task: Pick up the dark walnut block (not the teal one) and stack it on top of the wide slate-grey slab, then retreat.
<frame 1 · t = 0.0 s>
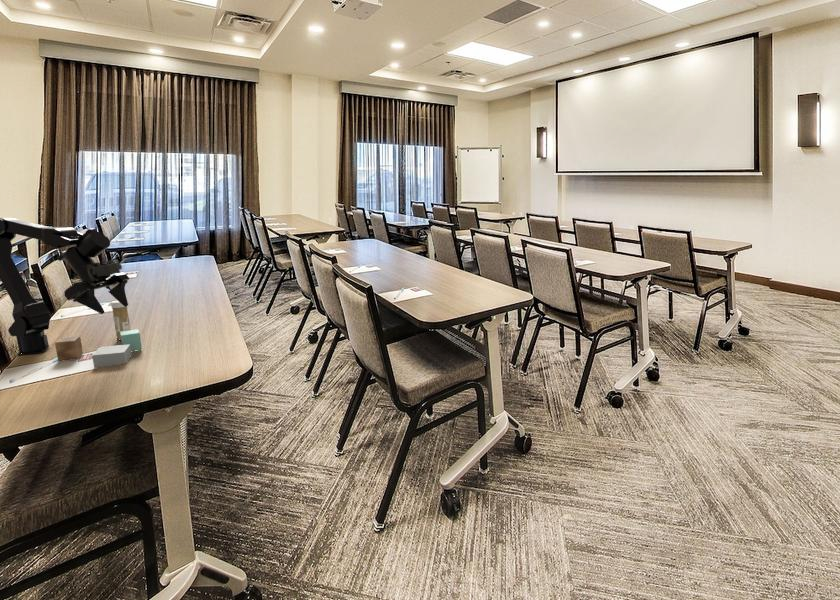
hand: (115, 309, 141), 15 cm above the table, tool tilted 35°, fingers open, 9 cm apart
teal block: (132, 350, 151), on the table
sprinkles bottle: (124, 339, 162), on the table
grey slab: (113, 362, 141), on the table
walnut block: (70, 358, 144), on the table
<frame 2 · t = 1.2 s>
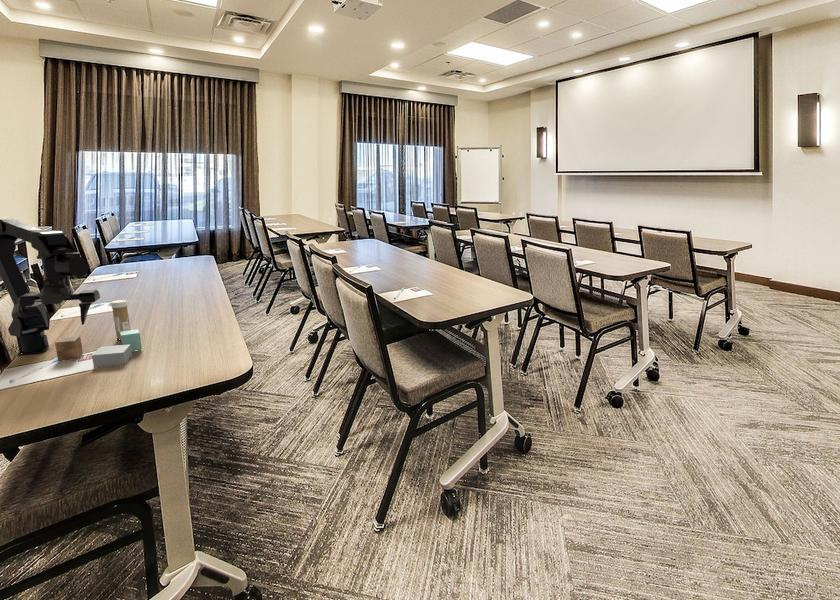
hand: (65, 325, 141), 10 cm above the table, tool pointing down, fingers open, 9 cm apart
nothing on the table moved.
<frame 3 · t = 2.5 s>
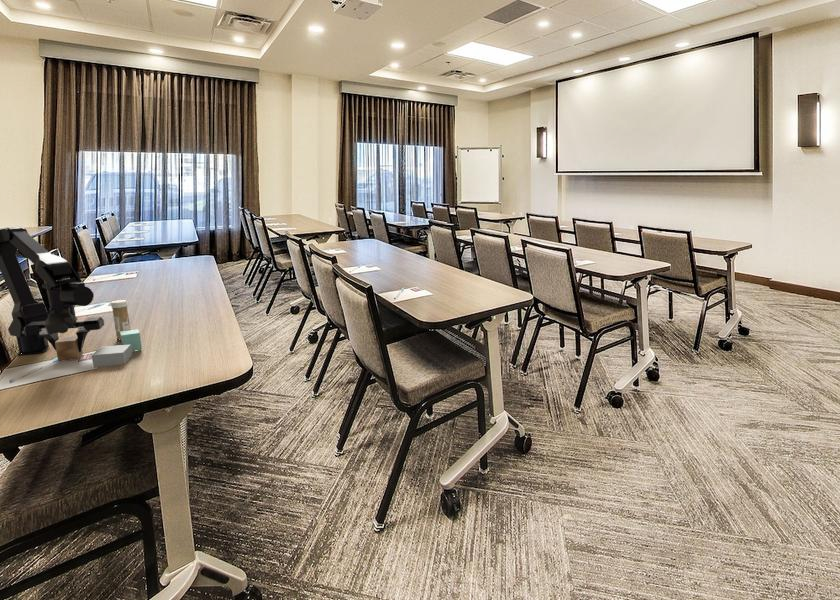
hand: (70, 352, 143), 2 cm above the table, tool pointing down, fingers closed on walnut block, 5 cm apart
walnut block: (70, 357, 144), on the table, touching gripper
everything else where it was.
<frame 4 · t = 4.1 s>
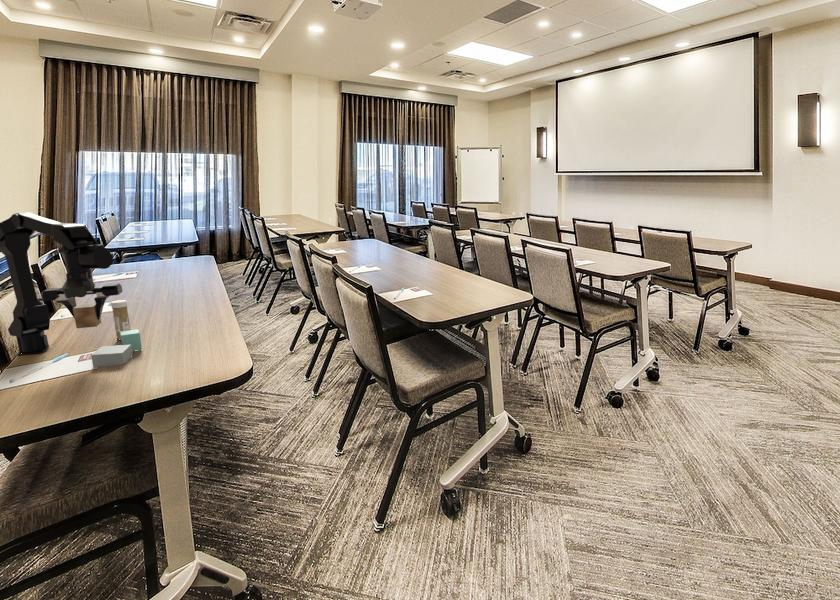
hand: (88, 320, 139), 12 cm above the table, tool pointing down, fingers closed on walnut block, 5 cm apart
walnut block: (89, 325, 139), point 11 cm above the table, touching gripper
everything else where it was.
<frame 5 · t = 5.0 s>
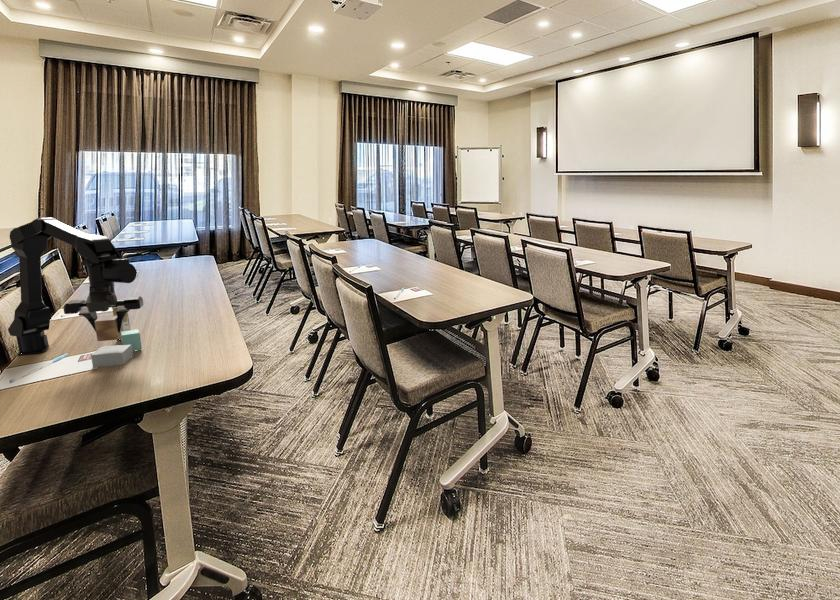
hand: (109, 333, 139), 9 cm above the table, tool pointing down, fingers closed on walnut block, 5 cm apart
walnut block: (109, 337, 139), point 7 cm above the table, touching gripper
everything else where it was.
when the fingers open (7 cm above the table, at t = 5.7 s): walnut block drops 2 cm, resting on grey slab.
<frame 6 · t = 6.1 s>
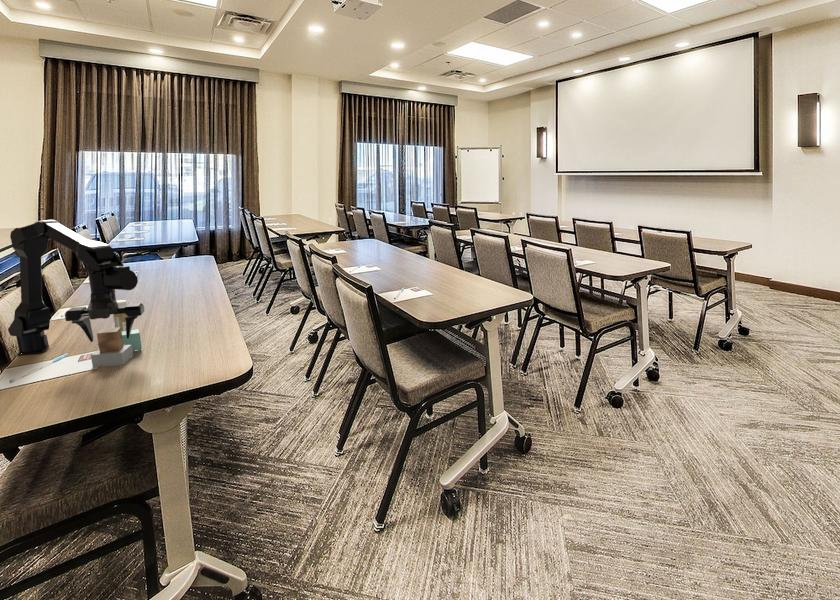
hand: (110, 339, 139), 7 cm above the table, tool pointing down, fingers open, 9 cm apart
grey slab: (113, 362, 141), on the table, touching walnut block
walnut block: (112, 349, 140), point 4 cm above the table, touching grey slab
everything else where it was.
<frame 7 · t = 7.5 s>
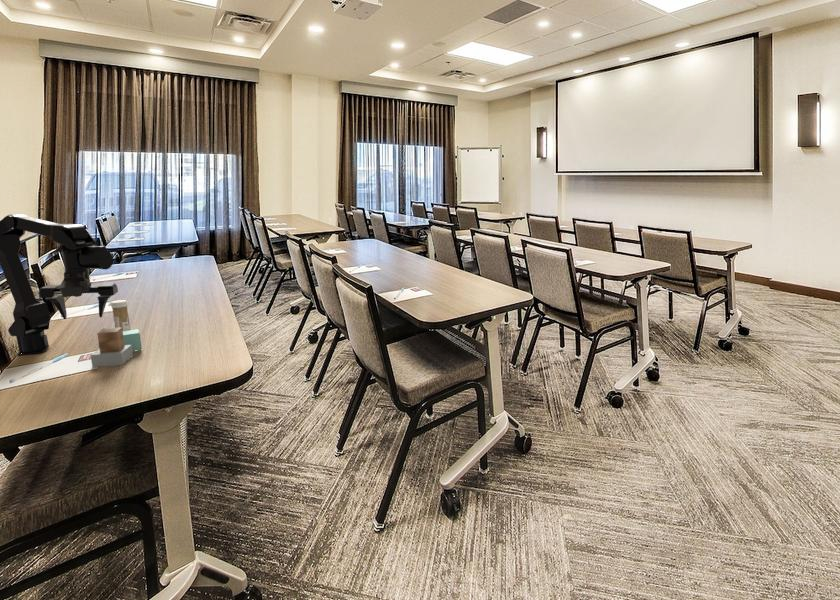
hand: (83, 318, 143), 12 cm above the table, tool pointing down, fingers open, 9 cm apart
nothing on the table moved.
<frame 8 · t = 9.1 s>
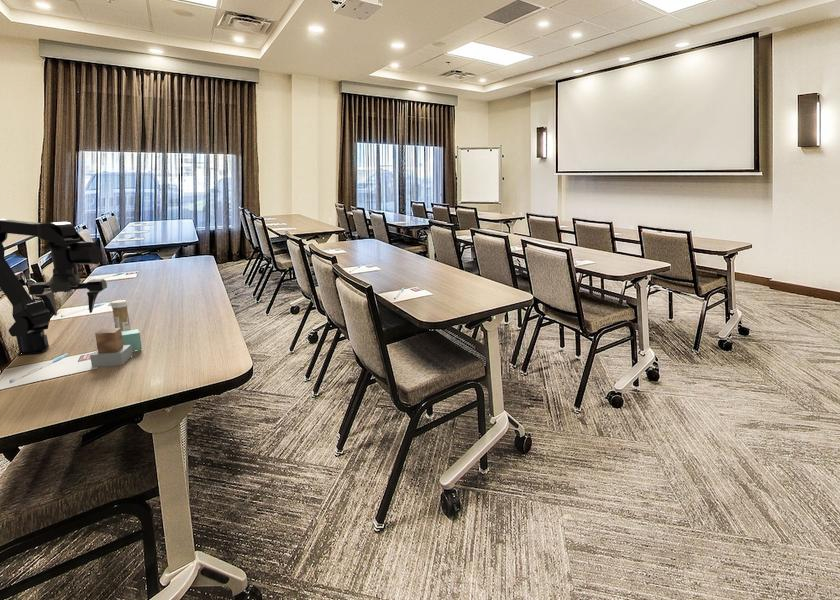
hand: (73, 313, 146), 13 cm above the table, tool pointing down, fingers open, 9 cm apart
nothing on the table moved.
at the end: walnut block 0.2 cm off-centre on the grey slab, point 4.0 cm above the grey slab's base; walnut block tilted 0°; teal block moved 0.1 cm from its start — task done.
